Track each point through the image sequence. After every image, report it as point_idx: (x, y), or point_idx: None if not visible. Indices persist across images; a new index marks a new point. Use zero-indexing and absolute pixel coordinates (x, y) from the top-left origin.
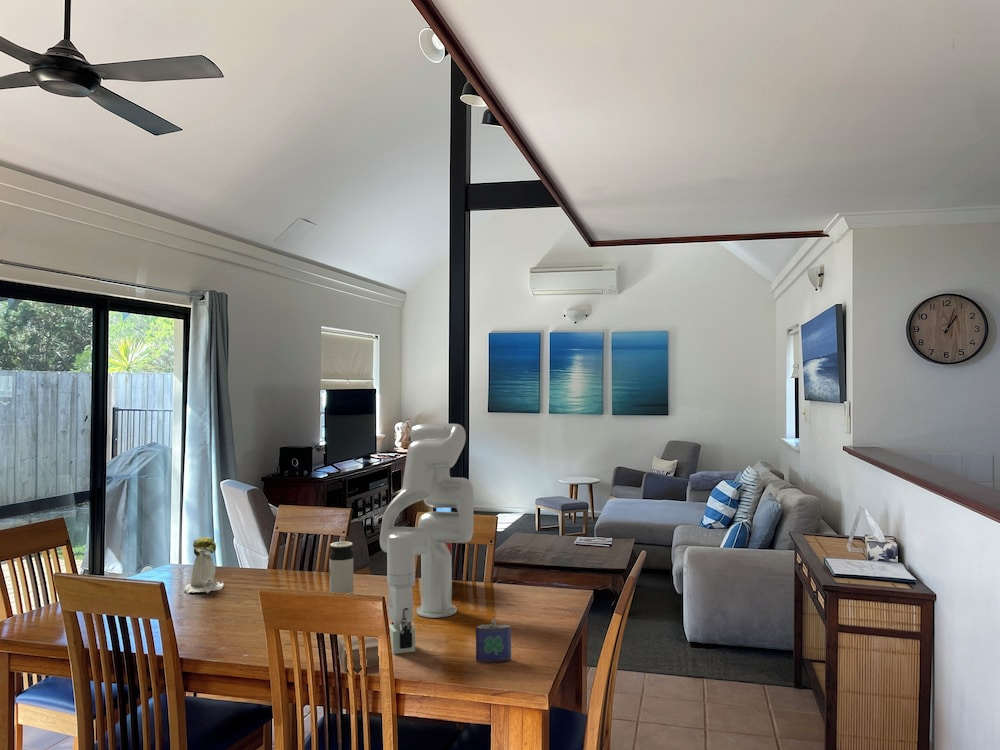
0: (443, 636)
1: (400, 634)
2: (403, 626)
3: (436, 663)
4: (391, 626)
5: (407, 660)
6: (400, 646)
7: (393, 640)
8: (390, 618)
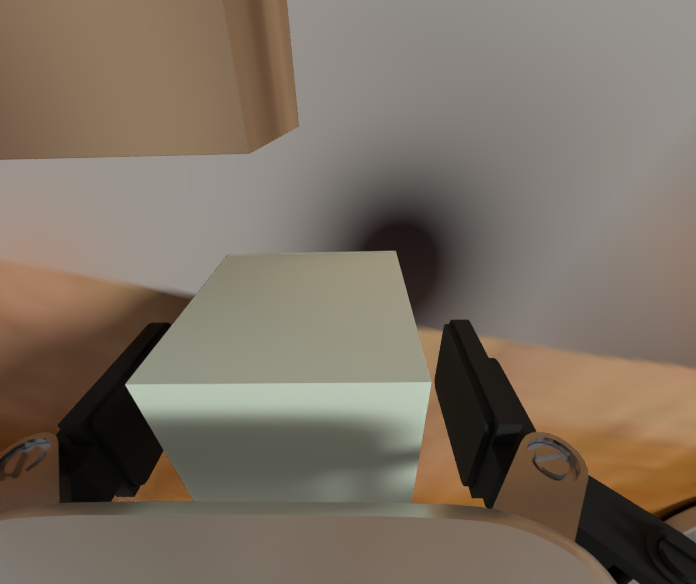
0: (418, 490)
1: (63, 419)
2: (304, 480)
3: (56, 412)
4: (352, 401)
5: (92, 310)
6: (144, 331)
7: (180, 316)
8: (318, 529)
